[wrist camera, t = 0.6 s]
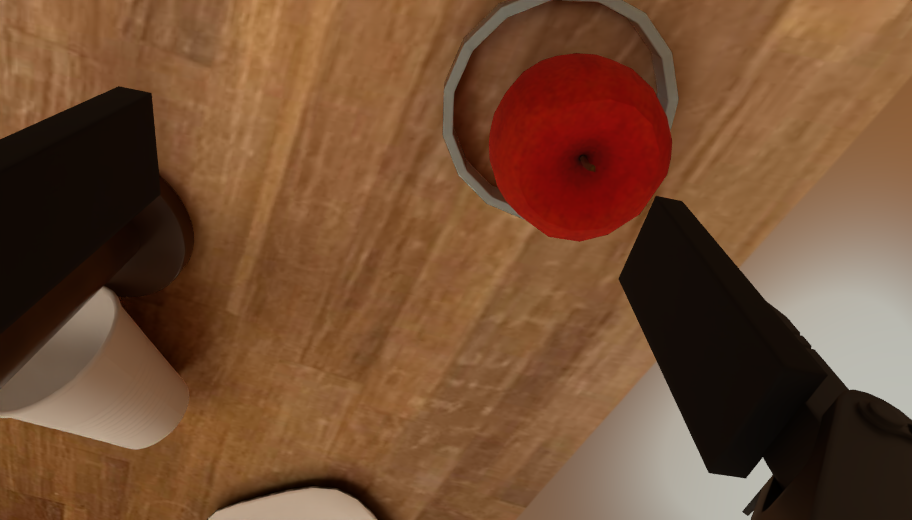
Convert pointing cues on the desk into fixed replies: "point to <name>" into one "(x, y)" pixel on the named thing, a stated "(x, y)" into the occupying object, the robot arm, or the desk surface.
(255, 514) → the plate
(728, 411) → the robot arm
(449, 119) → the grey faceted ring
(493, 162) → the apple
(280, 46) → the desk surface
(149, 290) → the holder
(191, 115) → the desk surface
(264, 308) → the desk surface
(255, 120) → the desk surface
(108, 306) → the cup
